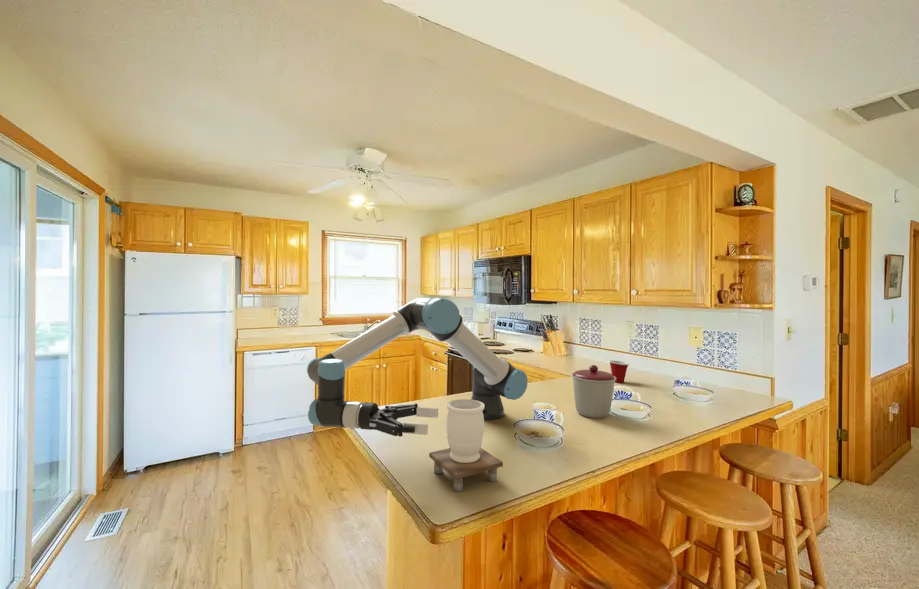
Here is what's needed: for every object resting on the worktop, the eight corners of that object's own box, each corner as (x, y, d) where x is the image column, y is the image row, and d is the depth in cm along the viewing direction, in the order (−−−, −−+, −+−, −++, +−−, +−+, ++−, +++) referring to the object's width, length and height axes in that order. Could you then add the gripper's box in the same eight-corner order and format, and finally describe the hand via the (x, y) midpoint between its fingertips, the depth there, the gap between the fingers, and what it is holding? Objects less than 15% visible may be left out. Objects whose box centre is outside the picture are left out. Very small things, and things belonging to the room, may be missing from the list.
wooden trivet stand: (428, 470, 110) (429, 452, 110) (472, 459, 118) (472, 442, 118) (455, 495, 98) (455, 474, 97) (502, 480, 105) (502, 462, 105)
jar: (484, 450, 112) (485, 399, 112) (482, 466, 102) (483, 411, 102) (448, 448, 113) (449, 397, 113) (443, 464, 103) (444, 409, 103)
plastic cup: (632, 384, 217) (632, 363, 217) (612, 384, 217) (613, 363, 217) (624, 380, 228) (624, 360, 228) (605, 379, 228) (606, 359, 228)
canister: (565, 407, 173) (566, 360, 172) (606, 408, 172) (607, 361, 172) (576, 421, 155) (578, 369, 154) (622, 422, 154) (623, 370, 154)
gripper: (377, 414, 125) (441, 419, 121) (342, 445, 100) (422, 452, 97) (377, 391, 124) (441, 395, 121) (343, 416, 100) (422, 422, 97)
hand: (433, 420), depth 109 cm, fingers open, 13 cm apart
